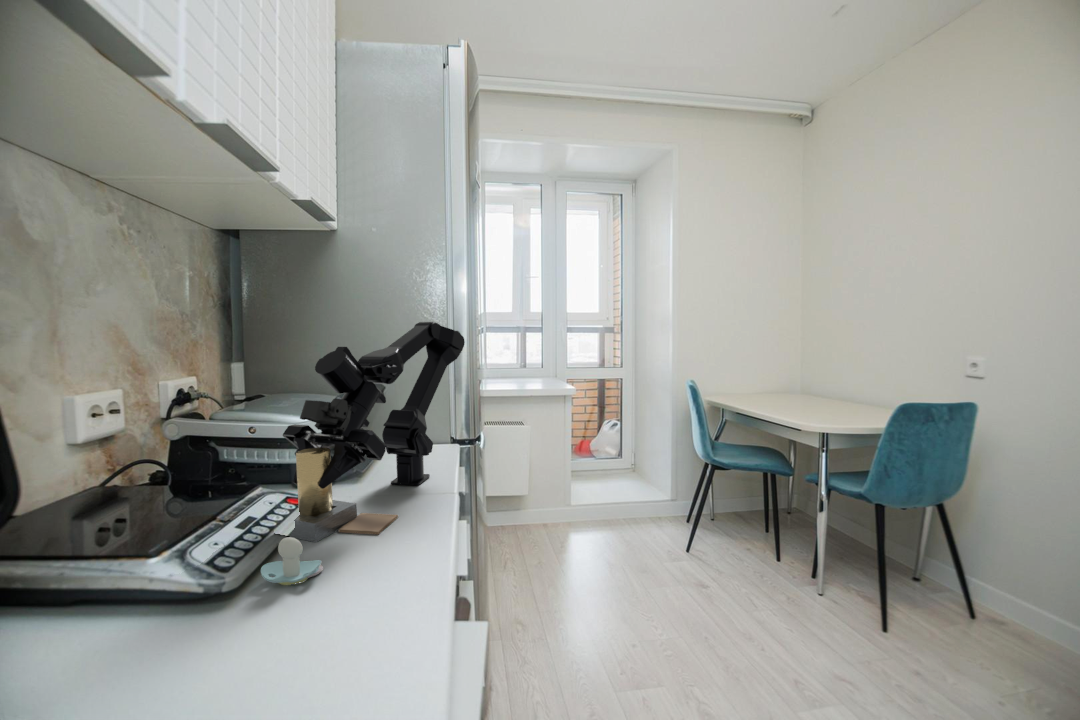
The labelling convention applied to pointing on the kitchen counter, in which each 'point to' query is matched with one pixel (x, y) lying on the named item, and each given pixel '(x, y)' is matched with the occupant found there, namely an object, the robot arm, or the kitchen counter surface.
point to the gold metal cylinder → (313, 481)
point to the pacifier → (290, 565)
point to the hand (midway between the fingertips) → (308, 485)
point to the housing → (324, 522)
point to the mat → (368, 523)
